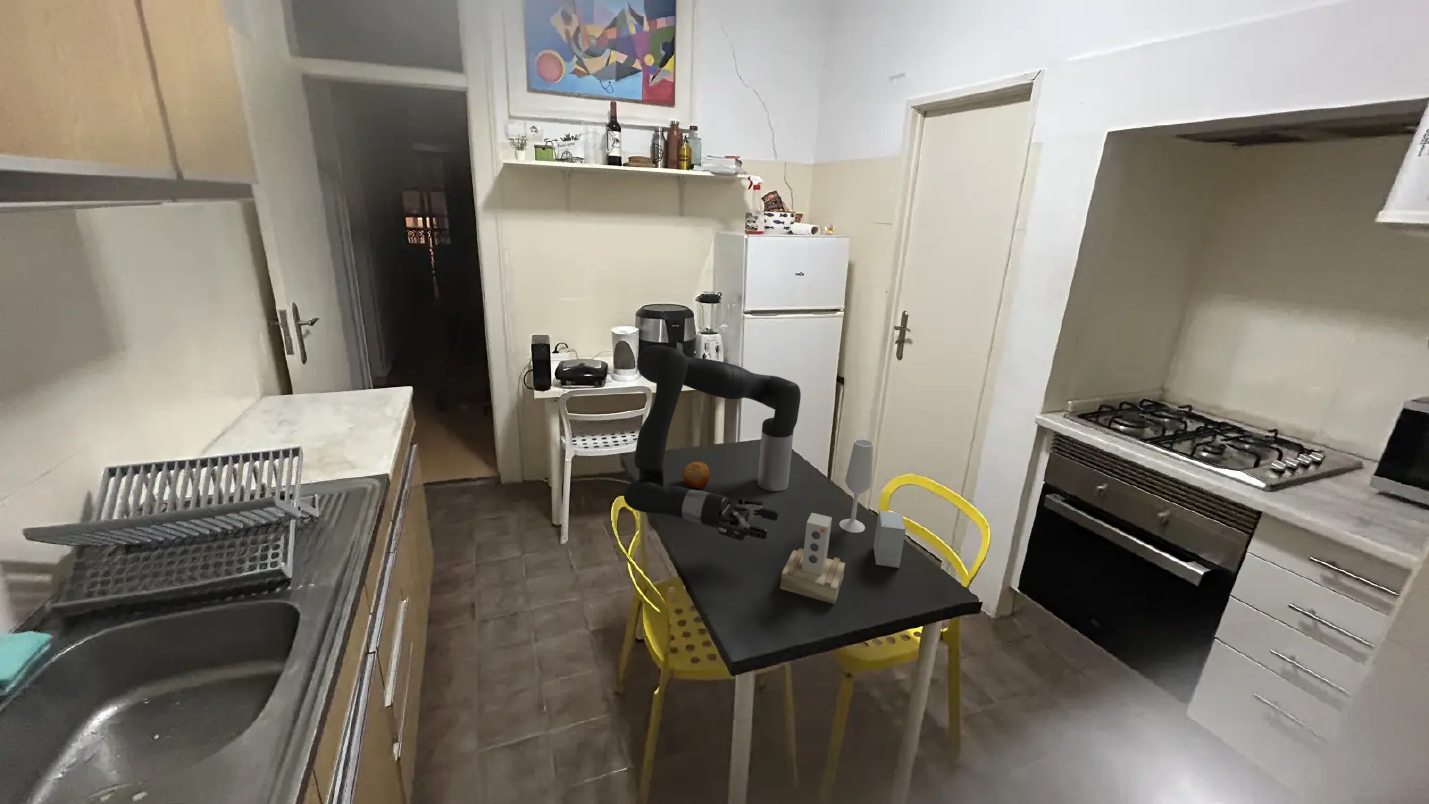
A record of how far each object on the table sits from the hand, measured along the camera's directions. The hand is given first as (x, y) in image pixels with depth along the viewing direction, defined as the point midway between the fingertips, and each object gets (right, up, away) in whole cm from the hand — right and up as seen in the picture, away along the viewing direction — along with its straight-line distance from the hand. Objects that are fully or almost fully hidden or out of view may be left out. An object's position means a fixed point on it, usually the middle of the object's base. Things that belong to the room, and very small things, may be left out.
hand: (772, 525), depth 127 cm
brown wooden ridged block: (+9, -13, 0) cm, 16 cm away
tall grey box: (+9, -9, -1) cm, 13 cm away
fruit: (-18, +3, +42) cm, 46 cm away
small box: (+29, -10, +11) cm, 33 cm away
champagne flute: (+24, -6, +24) cm, 35 cm away
